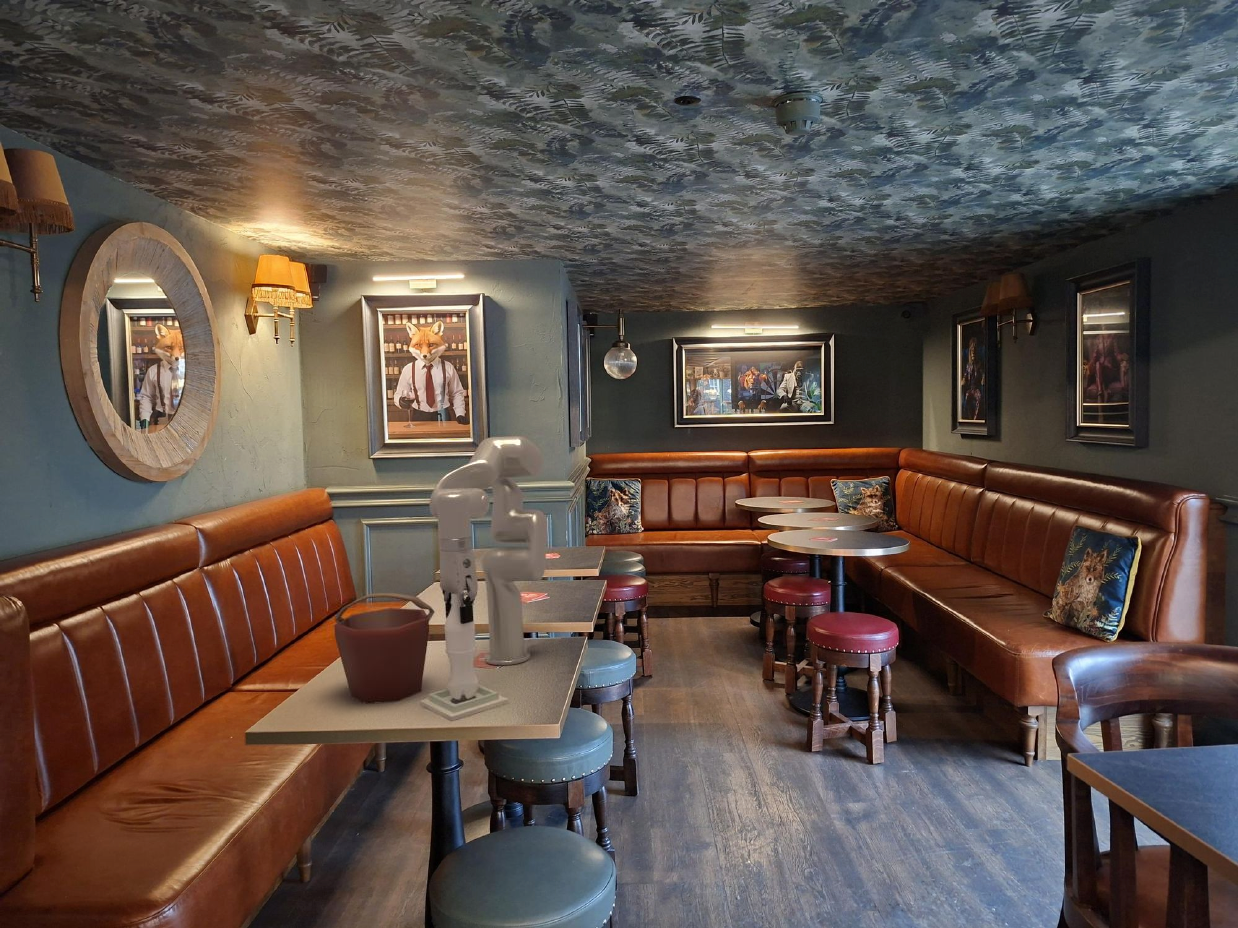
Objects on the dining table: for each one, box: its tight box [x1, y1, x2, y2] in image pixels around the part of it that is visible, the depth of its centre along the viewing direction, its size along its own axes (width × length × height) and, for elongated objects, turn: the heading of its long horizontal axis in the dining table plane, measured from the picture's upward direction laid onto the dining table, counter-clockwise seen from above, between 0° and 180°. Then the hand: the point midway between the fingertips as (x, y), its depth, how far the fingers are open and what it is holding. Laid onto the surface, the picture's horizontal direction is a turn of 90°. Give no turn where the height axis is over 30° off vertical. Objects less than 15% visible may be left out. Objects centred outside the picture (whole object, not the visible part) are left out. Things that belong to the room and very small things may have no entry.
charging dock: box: [419, 683, 509, 722], centre depth 188 cm, size 15×15×2 cm
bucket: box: [333, 592, 436, 704], centre depth 198 cm, size 24×22×25 cm
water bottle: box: [443, 593, 479, 700], centre depth 188 cm, size 7×7×25 cm
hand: (459, 619), depth 187 cm, fingers closed on water bottle, 5 cm apart
